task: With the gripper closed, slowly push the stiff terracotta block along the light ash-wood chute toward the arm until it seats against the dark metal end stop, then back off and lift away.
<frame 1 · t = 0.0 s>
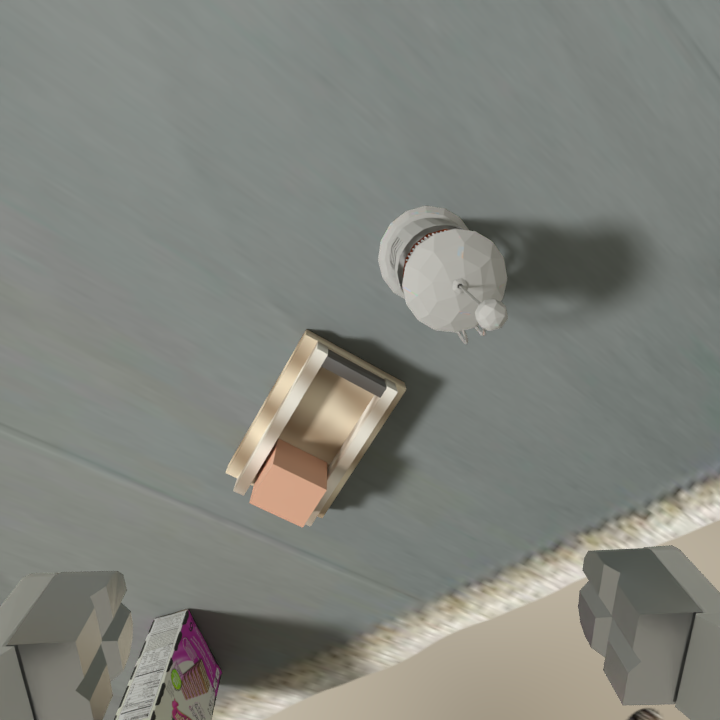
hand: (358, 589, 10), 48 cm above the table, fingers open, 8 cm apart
jammed block: (290, 481, 58), point 5 cm above the table, slide at 0.0 cm
candy bar box: (190, 643, 71), on the table
chute: (314, 423, 61), on the table
french press: (430, 263, 56), on the table
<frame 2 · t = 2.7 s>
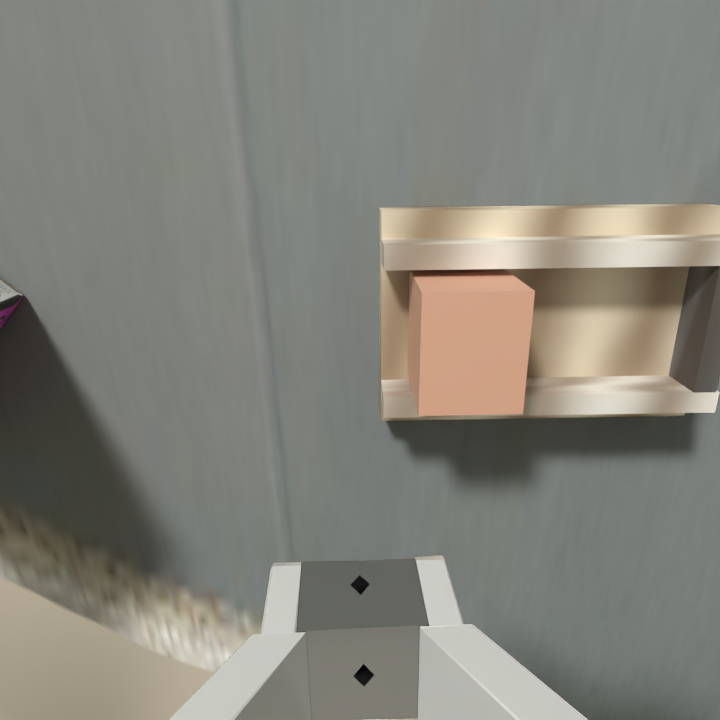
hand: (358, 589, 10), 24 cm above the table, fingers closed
jammed block: (463, 337, 28), point 5 cm above the table, slide at 0.0 cm
chute: (532, 311, 33), on the table
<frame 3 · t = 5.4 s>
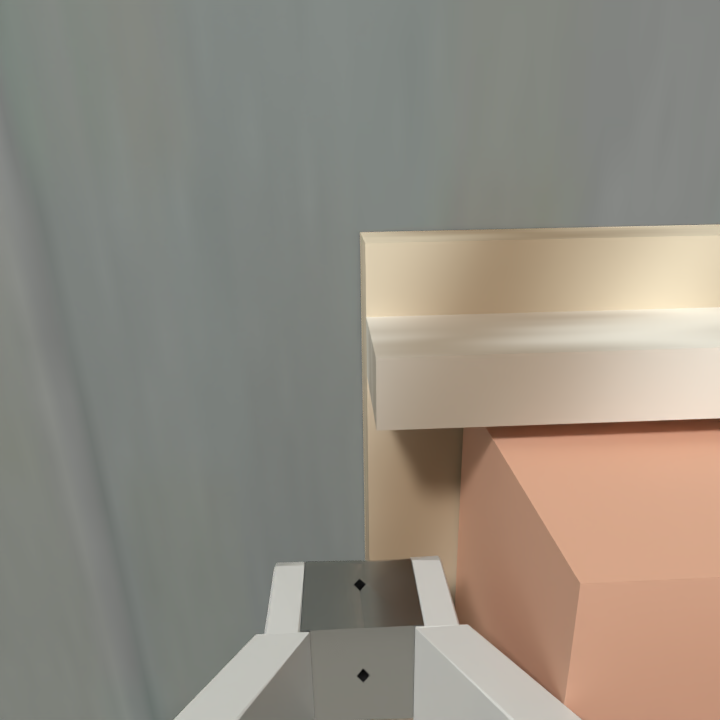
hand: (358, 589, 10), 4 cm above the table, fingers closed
jammed block: (636, 607, 10), point 5 cm above the table, slide at 0.5 cm, touching gripper
chute: (710, 461, 14), on the table
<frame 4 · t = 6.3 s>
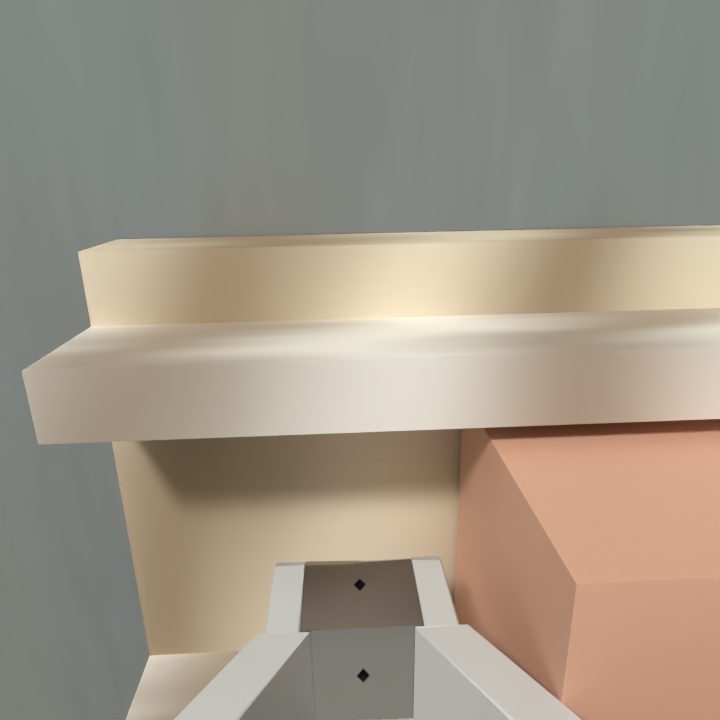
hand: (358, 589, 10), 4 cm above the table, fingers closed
jammed block: (633, 608, 10), point 5 cm above the table, slide at 5.7 cm, touching gripper
chute: (511, 469, 14), on the table
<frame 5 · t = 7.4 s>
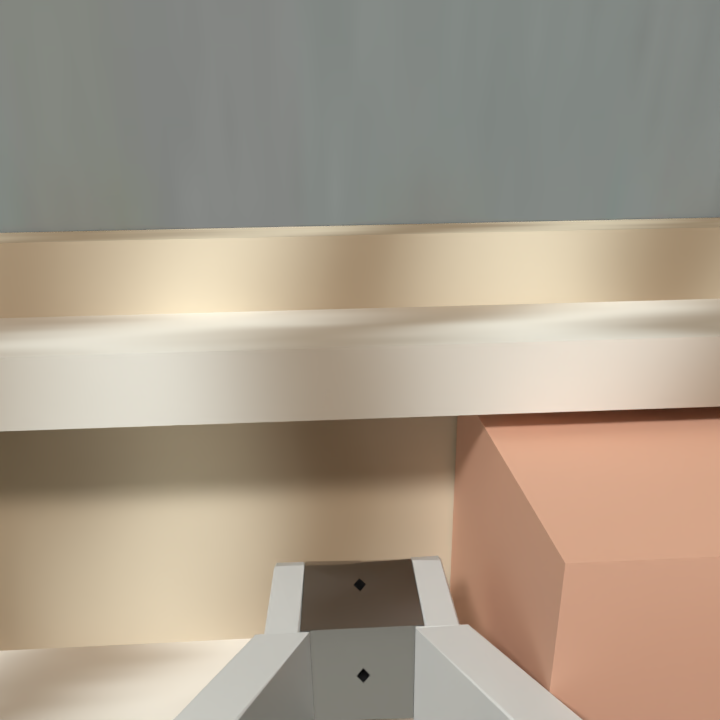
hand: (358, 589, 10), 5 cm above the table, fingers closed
jammed block: (626, 594, 10), point 5 cm above the table, slide at 9.6 cm, touching gripper
chute: (355, 466, 14), on the table
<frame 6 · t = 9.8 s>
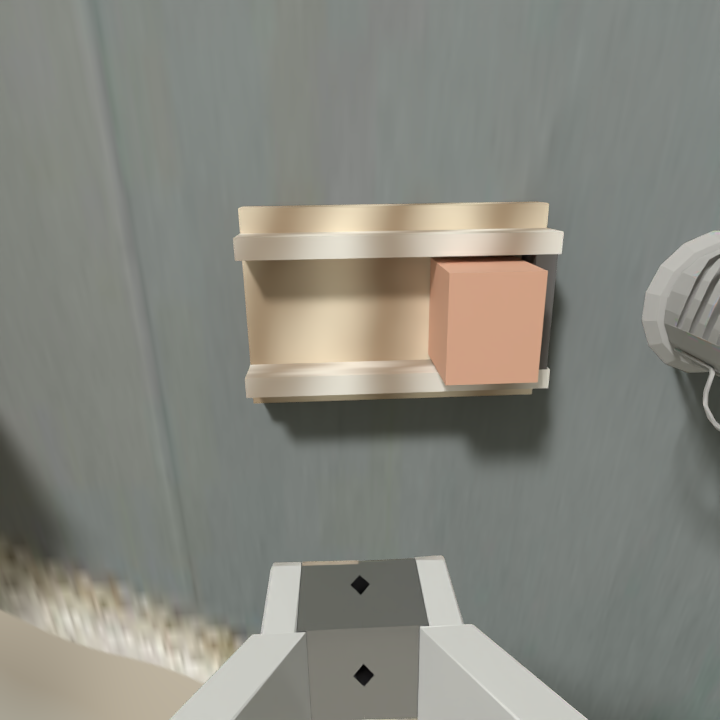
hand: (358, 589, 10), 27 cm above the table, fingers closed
jammed block: (481, 317, 32), point 5 cm above the table, slide at 9.6 cm
chute: (391, 300, 36), on the table
french press: (703, 314, 38), on the table
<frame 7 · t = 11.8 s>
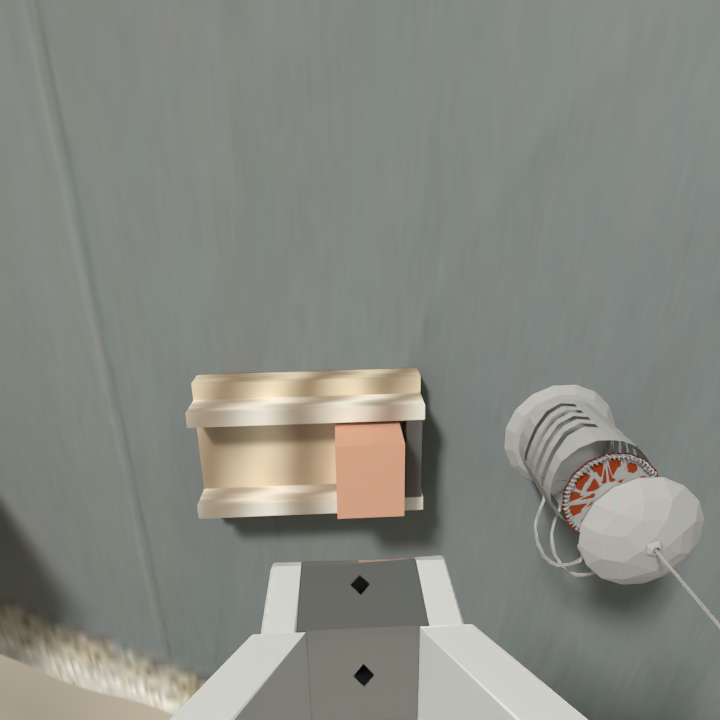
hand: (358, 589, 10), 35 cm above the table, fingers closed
jammed block: (368, 463, 43), point 5 cm above the table, slide at 9.6 cm
chute: (311, 437, 48), on the table
french press: (552, 443, 49), on the table
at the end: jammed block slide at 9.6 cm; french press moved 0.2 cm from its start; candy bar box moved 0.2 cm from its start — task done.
